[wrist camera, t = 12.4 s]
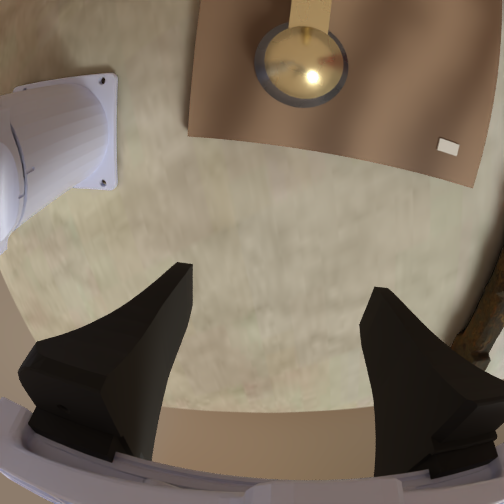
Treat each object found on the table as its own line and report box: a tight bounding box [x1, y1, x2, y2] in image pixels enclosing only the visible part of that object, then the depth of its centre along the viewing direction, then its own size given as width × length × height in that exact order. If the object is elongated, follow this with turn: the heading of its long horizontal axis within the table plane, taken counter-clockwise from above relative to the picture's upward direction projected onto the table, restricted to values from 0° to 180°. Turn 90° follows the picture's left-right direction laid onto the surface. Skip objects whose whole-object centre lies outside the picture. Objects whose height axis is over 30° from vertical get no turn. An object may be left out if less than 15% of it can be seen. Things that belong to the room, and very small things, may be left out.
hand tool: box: [451, 246, 504, 371], centre depth 22 cm, size 19×4×5 cm, turn 175°
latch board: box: [188, 0, 502, 188], centre depth 14 cm, size 19×17×1 cm
